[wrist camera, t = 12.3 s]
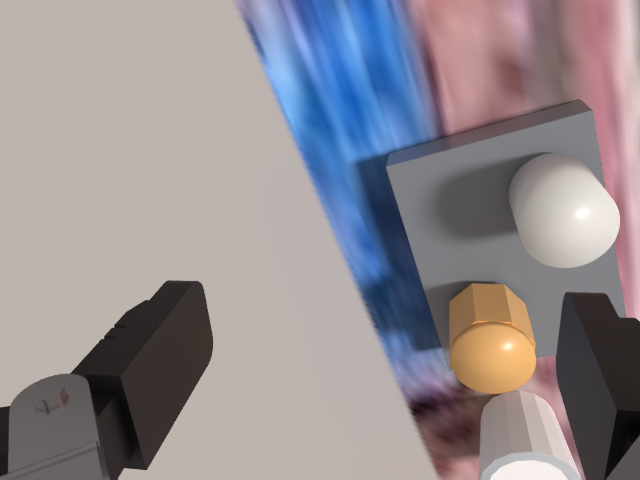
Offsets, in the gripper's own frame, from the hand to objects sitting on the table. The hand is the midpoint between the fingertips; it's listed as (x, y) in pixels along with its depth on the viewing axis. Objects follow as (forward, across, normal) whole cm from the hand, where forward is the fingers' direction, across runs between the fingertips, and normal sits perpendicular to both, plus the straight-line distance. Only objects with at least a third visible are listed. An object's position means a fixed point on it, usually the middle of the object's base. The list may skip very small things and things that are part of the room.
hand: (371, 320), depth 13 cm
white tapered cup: (+26, -8, +26) cm, 38 cm away
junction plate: (+26, -6, +10) cm, 29 cm away
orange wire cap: (+22, -5, +14) cm, 27 cm away
